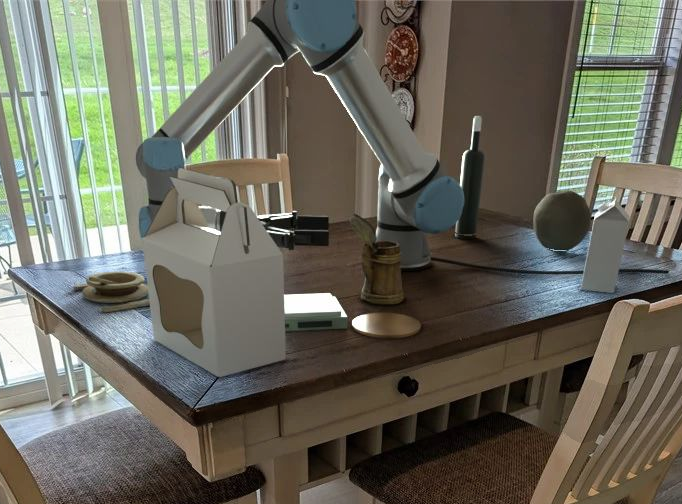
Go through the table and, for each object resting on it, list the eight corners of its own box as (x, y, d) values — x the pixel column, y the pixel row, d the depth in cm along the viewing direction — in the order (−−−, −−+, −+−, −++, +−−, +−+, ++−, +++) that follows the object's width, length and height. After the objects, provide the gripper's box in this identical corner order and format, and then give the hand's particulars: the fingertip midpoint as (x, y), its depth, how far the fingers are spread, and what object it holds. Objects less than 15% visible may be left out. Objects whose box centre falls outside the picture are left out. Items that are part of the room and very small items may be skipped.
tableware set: (101, 313, 140) (96, 283, 137) (69, 288, 154) (64, 260, 151) (238, 291, 155) (236, 262, 152) (198, 270, 169) (196, 243, 165)
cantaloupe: (533, 244, 198) (542, 184, 190) (586, 249, 193) (598, 189, 185) (524, 255, 186) (533, 193, 178) (581, 261, 182) (593, 198, 174)
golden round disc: (410, 314, 144) (410, 311, 144) (429, 336, 133) (429, 333, 133) (345, 317, 142) (345, 314, 141) (360, 340, 131) (360, 336, 131)
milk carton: (614, 285, 164) (634, 196, 154) (613, 294, 159) (633, 201, 149) (582, 282, 166) (599, 193, 156) (580, 290, 161) (597, 198, 151)
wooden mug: (336, 302, 150) (337, 210, 140) (381, 290, 158) (385, 202, 148) (367, 312, 144) (370, 217, 135) (412, 299, 152) (418, 208, 143)
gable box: (153, 339, 129) (131, 168, 114) (217, 325, 136) (205, 162, 121) (219, 379, 115) (205, 188, 100) (287, 360, 122) (283, 180, 107)
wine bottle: (450, 236, 203) (462, 115, 187) (463, 233, 207) (476, 115, 191) (466, 240, 200) (479, 117, 184) (479, 237, 203) (493, 116, 187)
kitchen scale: (334, 307, 147) (334, 292, 145) (347, 328, 136) (348, 313, 134) (265, 310, 145) (265, 295, 143) (273, 332, 134) (272, 316, 132)
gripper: (229, 234, 155) (328, 236, 156) (213, 263, 134) (328, 266, 135) (227, 196, 151) (328, 198, 152) (210, 221, 130) (329, 223, 131)
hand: (329, 230), depth 143 cm, fingers open, 13 cm apart
